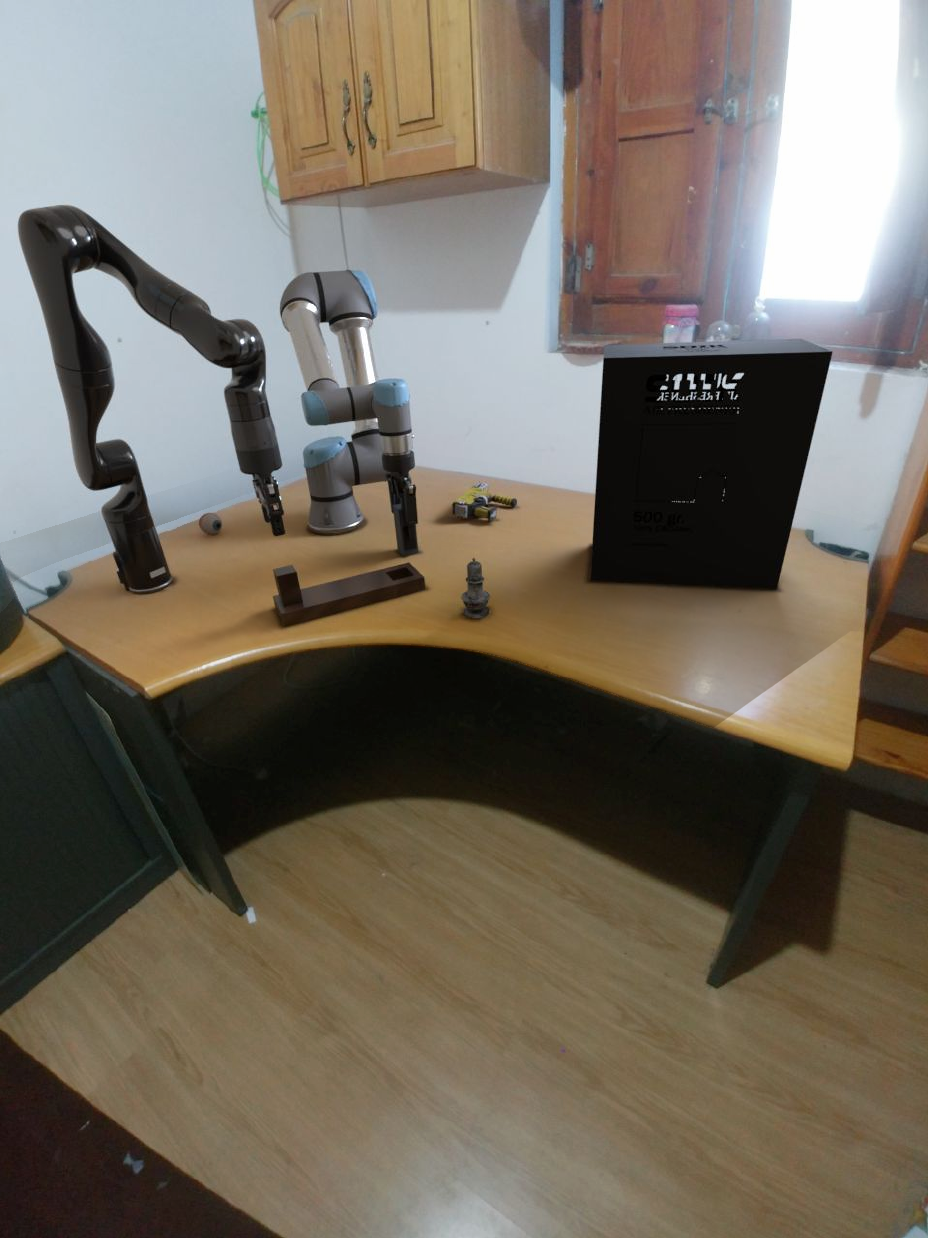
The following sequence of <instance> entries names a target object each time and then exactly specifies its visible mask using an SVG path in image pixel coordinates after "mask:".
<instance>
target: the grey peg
mask: <svg viewBox="0 0 928 1238" xmlns="http://www.w3.org/2000/svg"><path fill="white" fill-rule="evenodd" d="M392 514H393V520H394V521H393V522H394V528H395V529H394V530H395V535H396V536H395V538H396V547H397V552H398V553H400V554H401V555H402V556H403V557H405V556H410V555H411V556H412V555H415V554H418V553H419V543H418V534H417V533H418V532H417V524H414V526H415V536H416V546H417V548H416V549H412V550H408V551H406V550H405V541H404V532H403V527H402V525H401V524H404V520H403V514H402V508H401V504H396V505H393V513H392Z"/></svg>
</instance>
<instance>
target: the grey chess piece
mask: <svg viewBox="0 0 928 1238" xmlns="http://www.w3.org/2000/svg"><path fill="white" fill-rule="evenodd" d="M471 560H472V561H471ZM471 560H470V562H468V563H467V565H466V574H467V575H466V576H467V577H466V578H465V582H466V583H467V589H466V591H464V592H463V593H462V594H461V596H460V599H461V600H462V602H463V605H464V606H465V608H464V609H463V615H464V616H465V617H467V618H469V619H481V618H485V617H487V616H488V615H489V614H490V609H489V608H488V607H487V606H488V604H489V602H490V599H491V594H490V592H489V591H487V590H484V581H485V577H484V576H483V566H482V563H481V562H480V561H477V560H476V557H473V558H472V559H471Z"/></svg>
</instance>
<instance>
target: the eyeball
mask: <svg viewBox="0 0 928 1238" xmlns="http://www.w3.org/2000/svg"><path fill="white" fill-rule="evenodd" d="M198 526H199V528H200V530H201V531H202V532H203V533H204V534H206V535H212V536H214V535H216V534H218V533H220V532H221V531H222V529H223V520H222V518H221V517H220V515H218V514H217V513H214V512H206V513H203V515H201V516H200V517H199V520H198Z"/></svg>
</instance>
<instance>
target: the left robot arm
mask: <svg viewBox="0 0 928 1238" xmlns="http://www.w3.org/2000/svg"><path fill="white" fill-rule="evenodd" d="M17 233H18V234H17V236H18V240H19V244H20V248H21V251H22V254H23V258H24V260H25V263H26V266H27V269H28V272H29V275H30V278H31V282H32V284H33V286H34V287H33V288H34V290H35V293H36V296H37V299H38V302H39V305H40V308H41V312H42V316H43V319H44V323H45V328H46V331H47V335H48V340H49V344H50V349H51V354H52V360H53V364H54V368H55V373H56V376H57V380H58V384H59V387H60V392H61V395H62V399H63V404H64V407H65V411H66V416H67V421H68V429H69V434H70V444H71V451H72V458H73V462H74V466H75V470H76V473H77V475H78V477H79V479H80V481H81V483H82V484H83V486H85V488H86V489H88V490H89V491H93V492H97V491H105V490H109V489H112V488H115V487H119V489H118V491H117V492H116V494H115V495H114V496H113V497H111V498H110V499H109V500H107V501H106V502H105V503H104V504H103V505H102V506H101V508H100V509H101V510H100V512H101V515H102V518H103V520H104V523H105V526H106V528H107V531H108V533H109V537H110V540H111V542H112V545H113V548H114V551H113V552H112V556H113V559H114V561H115V564H116V567H117V571H116V575H117V578H118V580H119V582H120V585H123V586H124V589H125V591H126V592H131V593H133V594H136V595H145V594H151V593H156V592H159V591H162V590H163V589H166V588H167V587H169V586H171V585H172V584H173V581H174V579H173V576H172V575H173V574H171V570H170V568H169V564H168V561H167V558H166V555H165V552H164V549H163V546H162V544H161V540H160V537H159V534H158V531H157V528H156V524H155V523H154V519H153V516H152V513H151V510H150V507H149V503H148V502H149V501H148V497H147V494H146V490H145V487H144V483H143V479H142V475H141V472H140V468H139V464H138V461H137V458H136V455H135V453H134V451H133V449H132V447H131V446H130V444H129V443H127V442H126V441H125V440H124V439H121V438H115V439H110V440H104V441H103V440H102V441H100V442H99V441H98V442H97V435H98V429H99V426H100V424H101V421H102V420H103V419H102V418H103V417H104V415H105V413H106V411H107V410H108V407H109V405H110V403H111V401H112V398H113V396H114V393H115V388H116V380H115V374H114V367H113V363H112V356H111V353H110V350H109V348H108V345H107V344H106V343H105V340H104V339H103V338H102V336H101V335H100V333H98V331H96V329H95V328H94V327H93V325H91V323H90V322H89V321H88V320H87V319H86V317H85V315H84V314H83V312H82V311H81V308H80V306H79V304H78V300H77V296H76V291H75V286H74V278H73V275H75V274H77V273H82V272H86V271H89V270H92V269H94V270H97V271H100V272H102V273H105V274H106V275H108V276H111V277H113V278H114V279H116V280H117V281H119V282H120V283H121V284H123V286H124V287H125V288H126V290H127V291H128V293H129V294H130V296H131V297H132V299H133V300H134V302H135V303H136V304H137V306H138V307H139V308H140V310H141V311H143V312H144V313H145V314H146V315H147V316H148V317H150V318H151V319H153V320H154V321H156V322H157V323H158V324H160V325H162V326H164V327H165V328H167V329H169V330H170V331H172V332H173V333H175V334H177V335H178V336H180V337H182V338H183V339H184V340H185V341H186V342H187V343H188V344H189V345H190V346H191V347H192V348H193V350H195V351H196V352H197V353H198V354H199V355H200V356H201V357H203V359H205V360H206V361H207V362H209V363H211V364H213V365H215V366H217V367H220V368H223V369H231V370H230V371H231V379H230V381H229V382H228V383H227V384H226V385H225V386H224V388H223V399H224V402H225V403H224V404H225V407H226V410H227V415H228V419H229V424H230V425H229V426H230V433H231V438H232V442H233V445H234V446H233V447H234V450H235V454H236V459H237V462H238V467H239V471H240V472H241V473H242V474H245V475H249V476H250V475H252V480H251V483H252V486H253V488H254V493H255V496H256V498H257V499H258V503H259V504H260V506H261V511H262V515H263V520H264V522H265V523H266V524H270V527H271V532H272V536H274V537H280V536H284V535H286V529H285V524H284V520H283V516H284V515H285V510H284V508H283V503H282V497H281V495H280V494H281V493H280V490H279V483H278V481H277V479H275V476H273V474H272V473H273V472H276V471H278V470H280V469H282V467H283V460H282V455H281V451H280V447H279V442H278V437H277V430H276V427H275V424H274V421H273V419H272V415H271V414H272V413H271V411H270V406H269V401H268V395H267V391H266V385H267V384H266V383H267V353H266V346H265V341H264V338H263V336H262V334H261V332H260V330H259V329H258V328H257V326H256V325H255V324H254V323H253V322H251V321H250V320H248V319H244V318H234V319H226V320H221V319H219V318H217V317H215V316H214V315H212V311H211V308H210V306H209V305H208V303H207V302H206V301H205V300H204V299H203V298H201V297H200V296H198V295H197V294H195V293H194V292H192V291H191V290H190V289H187V287H184V286H183V285H181V284H179V283H177V282H176V281H174V280H173V279H172V278H170V277H168V276H166V275H165V274H163V273H162V272H160V271H159V270H157V269H156V268H154V267H153V266H152V265H151V264H149V263H148V262H146V261H145V260H144V259H143V258H142V257H141V256H139V255H138V254H137V253H136V252H134V251H133V250H132V249H131V248H130V247H128V246H127V245H126V244H124V242H122V241H121V240H120V239H119V238H117V236H115V235H114V234H113V233H111V231H109V229H107V228H106V227H105V226H104V225H102V224H101V223H100V222H99V221H98V220H97V219H96V218H94V217H93V216H91V215H90V214H89V213H87V212H86V211H84V210H82V209H81V208H79V207H77V206H74V205H72V204H57V205H51V206H43V207H34V208H29V209H26V210H24V211H23V212H21V214H20V215H19V217H18V221H17ZM275 506H276V509H275Z"/></svg>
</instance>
